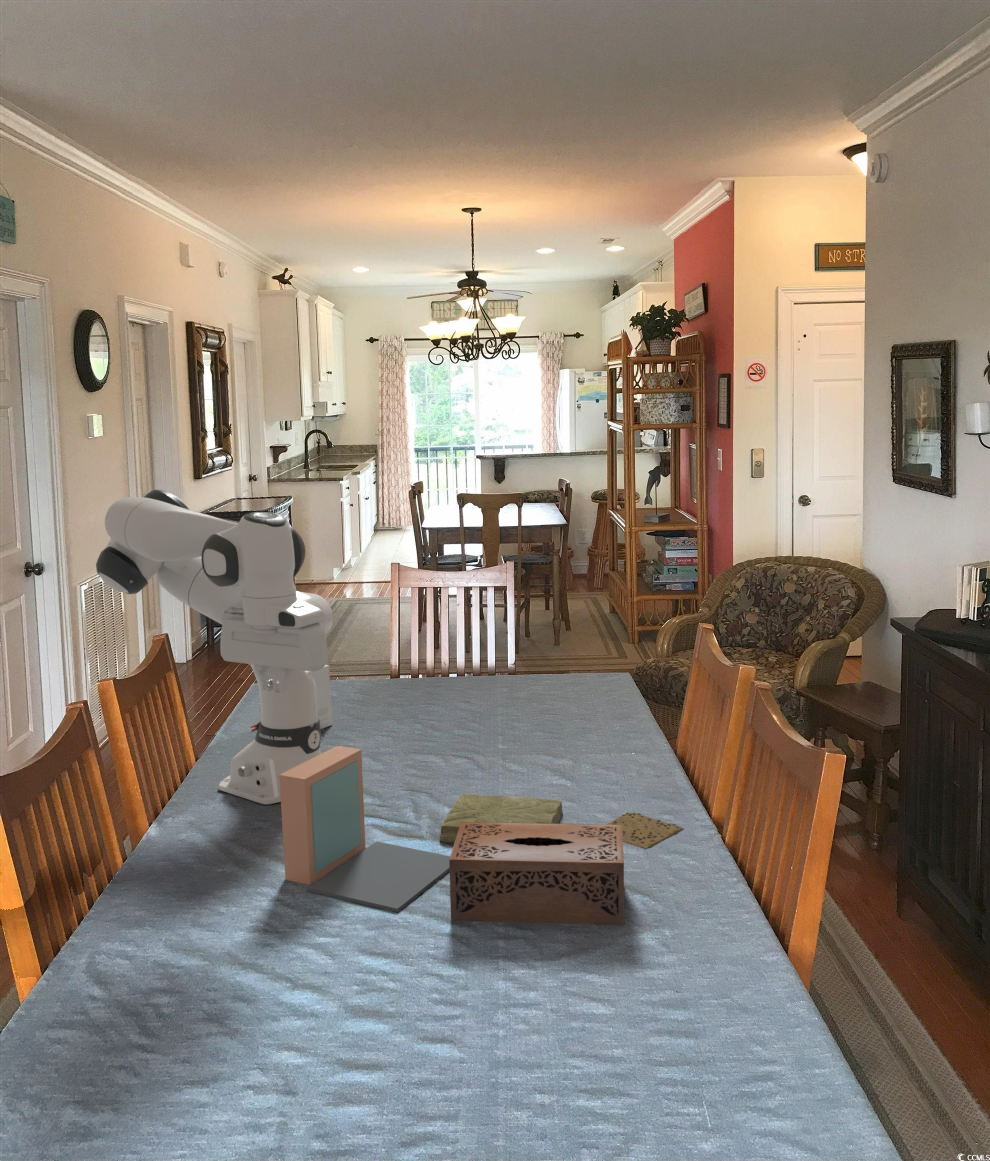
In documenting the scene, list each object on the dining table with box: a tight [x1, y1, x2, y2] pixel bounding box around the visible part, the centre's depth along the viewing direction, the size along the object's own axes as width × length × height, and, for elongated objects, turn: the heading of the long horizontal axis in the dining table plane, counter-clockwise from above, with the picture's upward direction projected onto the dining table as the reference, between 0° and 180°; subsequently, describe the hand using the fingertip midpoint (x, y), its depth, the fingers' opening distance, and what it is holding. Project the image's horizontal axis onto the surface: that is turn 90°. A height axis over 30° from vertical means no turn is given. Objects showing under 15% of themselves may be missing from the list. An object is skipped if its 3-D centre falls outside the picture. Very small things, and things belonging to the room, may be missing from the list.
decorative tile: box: [439, 793, 564, 843], centre depth 198 cm, size 19×20×4 cm
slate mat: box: [307, 840, 451, 913], centre depth 179 cm, size 17×20×1 cm
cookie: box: [607, 811, 685, 850], centre depth 195 cm, size 12×12×1 cm
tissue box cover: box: [449, 822, 625, 926], centre depth 168 cm, size 26×14×10 cm, turn 85°
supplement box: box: [305, 664, 334, 730], centre depth 259 cm, size 9×9×15 cm
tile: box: [279, 745, 366, 886], centre depth 183 cm, size 5×16×18 cm, turn 153°
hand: (274, 691), depth 183 cm, fingers closed
